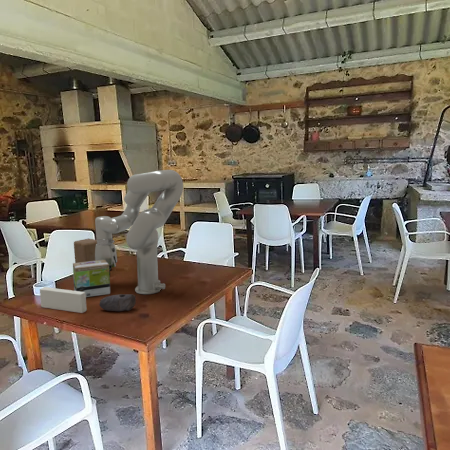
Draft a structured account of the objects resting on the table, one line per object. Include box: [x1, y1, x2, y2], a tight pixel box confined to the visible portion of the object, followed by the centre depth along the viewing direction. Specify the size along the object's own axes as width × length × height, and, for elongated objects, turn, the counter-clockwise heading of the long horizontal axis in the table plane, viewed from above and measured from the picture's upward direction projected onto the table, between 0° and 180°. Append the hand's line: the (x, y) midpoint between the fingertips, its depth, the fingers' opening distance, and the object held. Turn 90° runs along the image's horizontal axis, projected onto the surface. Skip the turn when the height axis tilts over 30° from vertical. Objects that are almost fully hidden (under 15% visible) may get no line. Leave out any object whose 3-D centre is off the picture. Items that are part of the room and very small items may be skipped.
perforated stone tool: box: [99, 293, 137, 312], centre depth 166 cm, size 15×5×7 cm, turn 88°
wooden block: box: [73, 238, 97, 263], centre depth 210 cm, size 10×10×20 cm
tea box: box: [72, 260, 111, 298], centre depth 186 cm, size 15×10×15 cm, turn 117°
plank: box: [39, 286, 88, 314], centre depth 168 cm, size 21×3×8 cm, turn 71°
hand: (106, 277), depth 198 cm, fingers closed
